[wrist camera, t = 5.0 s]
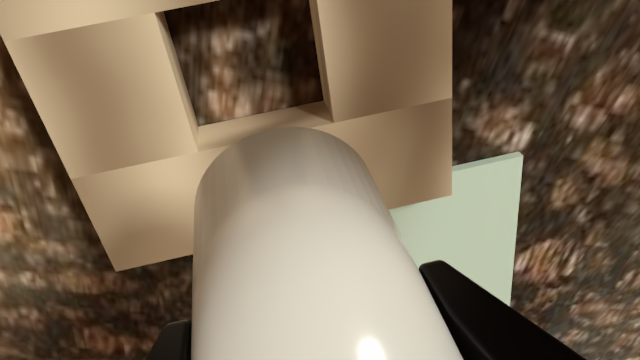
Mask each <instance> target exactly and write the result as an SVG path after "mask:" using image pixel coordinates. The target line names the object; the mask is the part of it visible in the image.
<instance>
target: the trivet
mask: <svg viewBox="0 0 640 360" xmlns="http://www.w3.org/2000/svg"><path fill="white" fill-rule="evenodd" d="M522 164H523V155H522V154H521V153H520V152H515V153H510V154H506V155H501V156H497V157H492V158H488V159H483V160H479V161H474V162H470V163H465V164H461V165H456V166H452V195H450V196H446V197H442V198H437V199H433V200H429V201H424V202H420V203H415V204H411V205H407V206H402V207H398V208H393V209H389V211H390V213H391V215H392V217H393V219H394V221H395V223H396V225H397V227H398V229H399V231H400V233H401V235H402V237H403V239H404V241H405V243H406V245H407V247H408V249H409V251H410V253H411V255H412V257H413V259H414V261H415V263H416V265H417V267H418V269H419V266H420V265H421V264H423V263H427V262H432V261H436V260H442V261H445V262H446V263H448V264H449V265H451V266H452V267H453V268H455V269H456V270H458V271H459V272H461V273H462V274H464V275H465V276H466V277H468V278H469V279H471V280H472V281H474V282H475V283H477V284H478V285H479V286H481V287H482V288H484V289H485V290H487V291H488V292H490V293H491V294H492V295H494V296H495V297H497V298H498V299H500V300H501V301H503V302H504V303H505V304H507V305H508V306H510V297H511V286H512V275H513V264H514V253H515V242H516V231H517V220H518V209H519V197H520V186H521V175H522Z"/></svg>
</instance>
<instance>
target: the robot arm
mask: <svg viewBox="0 0 640 360" xmlns="http://www.w3.org/2000/svg"><path fill="white" fill-rule="evenodd" d="M419 271H420V273H421V275H422V277H423V279H424V281H425V283H426V285H427V287H428V289H429V291H430V293H431V295H432V297H433V299H434V301H435V303H436V305H437V307H438V309H439V311H440V313H441V315H442V317H443V319H444V321H445V323H446V325H447V327H448V329H449V331H450V333H451V335H452V337H453V339H454V341H455V343H456V345H457V347H458V349H459V351H460V353H461V355H462V357H463V359H464V360H586V359H585V358H583V357H582V356H580V355H579V354H578V353H576V352H575V351H573V350H572V349H570V348H569V347H567V346H566V345H565V344H563V343H562V342H560V341H559V340H557V339H556V338H554V337H553V336H552V335H550V334H549V333H547V332H546V331H544V330H543V329H541V328H540V327H539V326H537V325H536V324H534V323H533V322H531V321H530V320H528V319H527V318H526V317H524V316H523V315H521V314H520V313H518V312H517V311H515V310H514V309H513V308H511V307H510V306H508V305H507V304H505V303H504V302H503V301H501V300H500V299H498V298H497V297H495V296H494V295H492V294H491V293H490V292H488V291H487V290H485V289H484V288H482V287H481V286H479V285H478V284H477V283H475V282H474V281H472V280H471V279H469V278H468V277H466V276H465V275H464V274H462V273H461V272H459V271H458V270H456V269H455V268H453V267H452V266H451V265H449V264H448V263H446V262H445V261H442V260H436V261H432V262H427V263H423V264H421V265H420V266H419ZM191 331H192V323H191V321H190V320H187V319H185V320H181V321H177V322H172V323H168V324H167V325H165V326H164V328H163V329H162V331H161V332H160V334H159V336H158V338H157V339H156V341H155V343H154V345H153V346H152V348H151V350H150V351H149V353H148V355H147V357H146V358H145V360H191Z"/></svg>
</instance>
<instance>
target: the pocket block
mask: <svg viewBox="0 0 640 360" xmlns="http://www.w3.org/2000/svg"><path fill="white" fill-rule="evenodd" d="M213 1H218V0H0V35H1V37H2V39H3V41H4V43H5V45H6V47H7V49H8V51H9V53H10V56H11V58H12V60H13V62H14V64H15V66H16V68H17V70H18V72H19V74H20V76H21V78H22V80H23V82H24V84H25V86H26V88H27V90H28V92H29V95H30V97H31V99H32V101H33V103H34V105H35V107H36V109H37V111H38V113H39V115H40V117H41V119H42V121H43V123H44V125H45V127H46V129H47V131H48V134H49V136H50V138H51V140H52V142H53V144H54V146H55V148H56V150H57V152H58V154H59V156H60V158H61V160H62V162H63V164H64V166H65V168H66V170H67V173H68V175H69V177H70V179H71V181H72V183H73V185H74V187H75V189H76V191H77V193H78V195H79V197H80V199H81V201H82V203H83V205H84V207H85V209H86V212H87V214H88V216H89V218H90V220H91V222H92V224H93V226H94V228H95V230H96V232H97V234H98V236H99V238H100V240H101V242H102V244H103V246H104V248H105V251H106V253H107V255H108V257H109V259H110V261H111V263H112V265H113V267H114V269H115V271H116V272H117V271H121V270H126V269H130V268H135V267H139V266H143V265H148V264H152V263H156V262H161V261H165V260H170V259H174V258H178V257H183V256H187V255H192V254H193V239H194V204H195V196H196V192H197V188H198V185H199V183H200V180H201V178H202V176H203V175H204V173H205V171H206V170H207V168H208V167H209V166H210V164H211V163H212V162H213V161H214V159H215V158H216V157H218V156H219V155H220V154H221V153H222V152H223V151H224V150H225V149H227V148H228V147H230V146H231V145H232V144H234V143H235V142H237V141H239V140H241V139H243V138H245V137H247V136H249V135H252V134H254V133H257V132H260V131H264V130H268V129H273V128H279V127H305V128H311V129H316V130H320V131H323V132H326V133H329V134H331V135H333V136H335V137H337V138H339V139H341V140H343V141H344V142H345V143H347V144H348V145H350V146H351V147H352V148H353V149H354V150H355V151H356V152H357V153H358V154H359V155H360V157H361V158H362V159H363V161H364V162H365V164H366V166H367V168H368V170H369V171H370V173H371V175H372V177H373V179H374V181H375V183H376V185H377V187H378V189H379V191H380V193H381V195H382V197H383V199H384V201H385V203H386V205H387V207H388V209H393V208H398V207H402V206H407V205H411V204H415V203H420V202H424V201H429V200H433V199H437V198H442V197H446V196H450V195H452V0H309V4H310V11H311V18H312V25H313V31H314V38H315V45H316V52H317V58H318V65H319V72H320V79H321V85H322V92H323V99H324V100H323V101H319V102H314V103H309V104H304V105H299V106H295V107H290V108H285V109H280V110H276V111H271V112H266V113H261V114H256V115H252V116H247V117H242V118H237V119H233V120H228V121H223V122H218V123H214V124H209V125H204V126H199V127H198V124H197V121H196V117H195V114H194V111H193V108H192V104H191V101H190V98H189V94H188V91H187V88H186V84H185V81H184V78H183V75H182V71H181V68H180V65H179V61H178V58H177V55H176V51H175V48H174V45H173V42H172V38H171V35H170V32H169V28H168V25H167V22H166V18H165V15H164V12H163V11H166V10H171V9H176V8H181V7H187V6H192V5H197V4H202V3H207V2H213Z"/></svg>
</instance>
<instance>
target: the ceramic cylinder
mask: <svg viewBox="0 0 640 360" xmlns="http://www.w3.org/2000/svg"><path fill="white" fill-rule="evenodd" d="M191 360H464V359H463V357H462V355H461V353H460V351H459V349H458V347H457V345H456V343H455V341H454V339H453V337H452V335H451V333H450V331H449V329H448V327H447V325H446V323H445V321H444V319H443V317H442V315H441V313H440V311H439V309H438V307H437V305H436V303H435V301H434V299H433V297H432V295H431V293H430V291H429V289H428V287H427V285H426V283H425V281H424V279H423V277H422V275H421V273H420V271H419V269H418V267H417V265H416V263H415V261H414V259H413V257H412V255H411V253H410V251H409V249H408V247H407V245H406V243H405V241H404V239H403V237H402V235H401V233H400V231H399V229H398V227H397V225H396V223H395V221H394V219H393V217H392V215H391V213H390V211H389V209H388V207H387V205H386V203H385V201H384V199H383V197H382V195H381V193H380V191H379V189H378V187H377V185H376V183H375V181H374V179H373V177H372V175H371V173H370V171H369V170H368V168H367V166H366V164H365V162H364V161H363V159H362V158H361V157H360V155H359V154H358V153H357V152H356V151H355V150H354V149H353V148H352V147H351V146H350V145H348V144H347V143H345V142H344V141H343V140H341V139H339V138H337V137H335V136H333V135H331V134H329V133H326V132H323V131H320V130H316V129H311V128H305V127H279V128H273V129H268V130H264V131H260V132H257V133H254V134H252V135H249V136H247V137H245V138H243V139H241V140H239V141H237V142H235V143H234V144H232V145H231V146H230V147H228V148H227V149H225V150H224V151H223V152H222V153H221V154H220V155H219V156H218V157H216V158H215V159H214V161H213V162H212V163H211V164H210V166H209V167H208V168H207V170H206V171H205V173H204V175H203V176H202V178H201V180H200V183H199V185H198V188H197V192H196V196H195V204H194V239H193V285H192V331H191Z"/></svg>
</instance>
